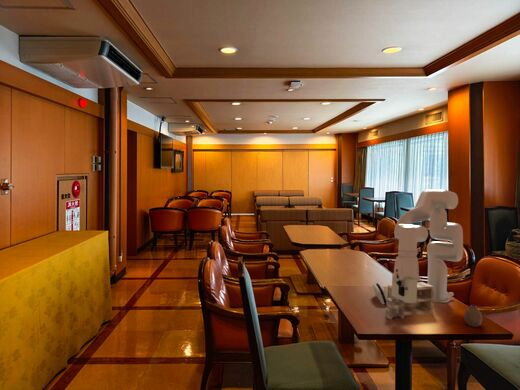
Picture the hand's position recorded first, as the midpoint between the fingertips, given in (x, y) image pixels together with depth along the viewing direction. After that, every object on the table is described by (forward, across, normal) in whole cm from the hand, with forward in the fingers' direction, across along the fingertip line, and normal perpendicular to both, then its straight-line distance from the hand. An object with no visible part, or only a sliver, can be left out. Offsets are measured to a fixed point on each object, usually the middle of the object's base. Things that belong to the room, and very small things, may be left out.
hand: (405, 294), depth 169 cm
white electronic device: (+13, -10, -33) cm, 37 cm away
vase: (+13, -29, +9) cm, 33 cm away
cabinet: (+13, -10, -12) cm, 20 cm away
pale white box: (+2, 0, -1) cm, 3 cm away
